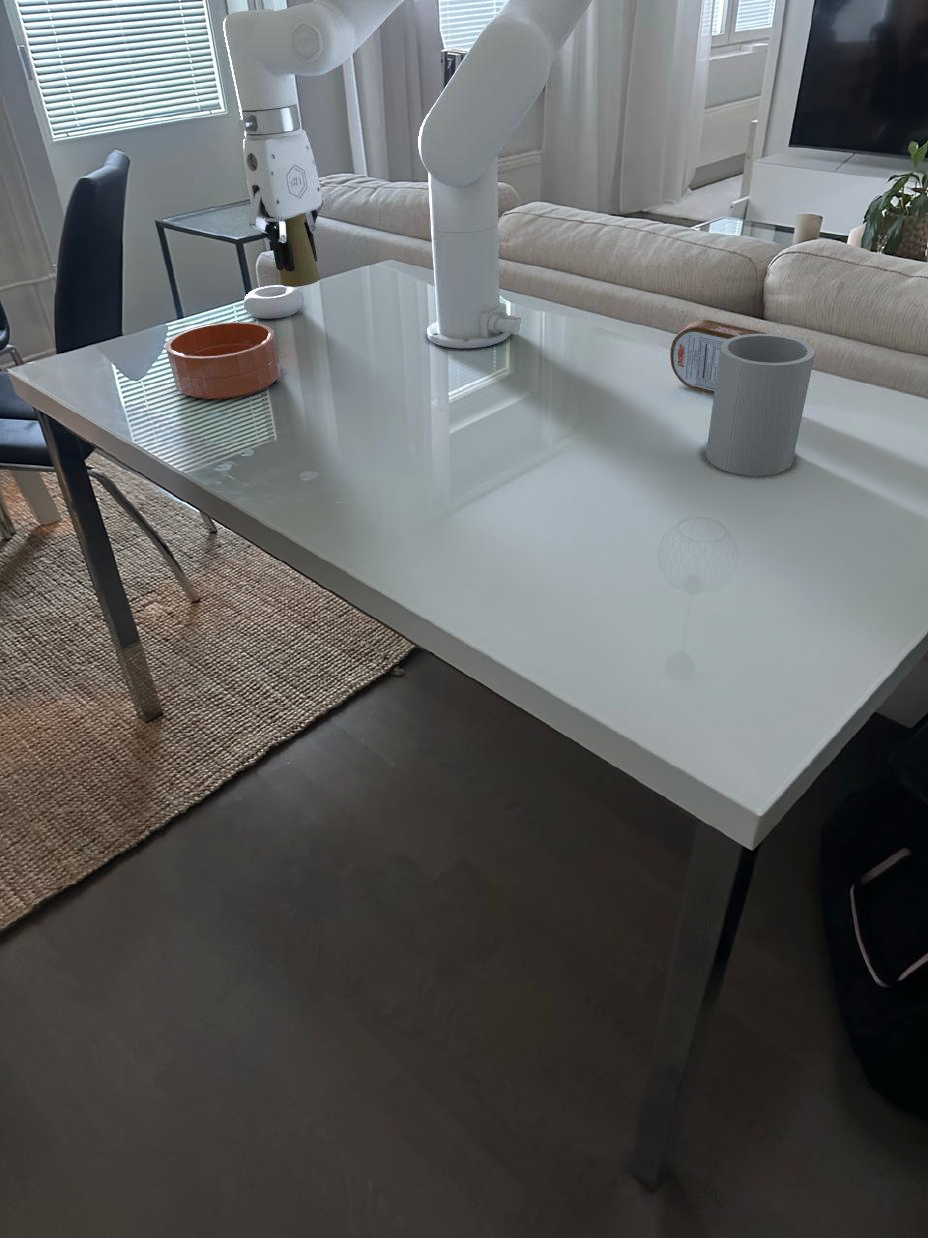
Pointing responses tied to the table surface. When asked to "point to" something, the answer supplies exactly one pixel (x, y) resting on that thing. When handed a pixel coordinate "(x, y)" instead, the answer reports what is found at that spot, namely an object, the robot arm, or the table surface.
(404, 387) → the table surface
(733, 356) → the cup
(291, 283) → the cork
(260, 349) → the basin
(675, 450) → the table surface
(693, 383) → the tin
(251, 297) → the donut
